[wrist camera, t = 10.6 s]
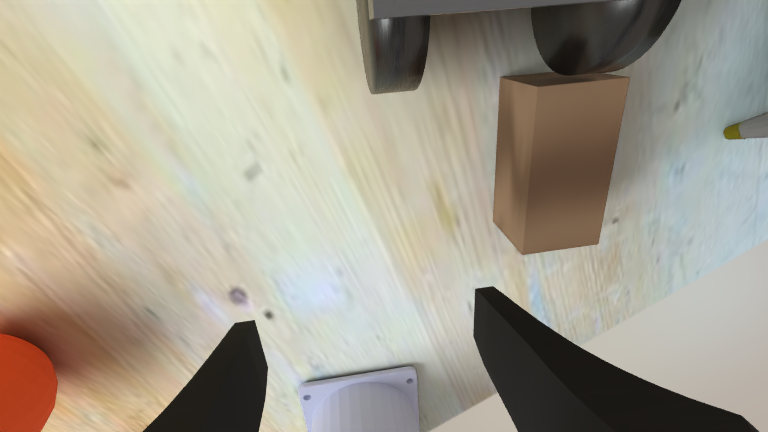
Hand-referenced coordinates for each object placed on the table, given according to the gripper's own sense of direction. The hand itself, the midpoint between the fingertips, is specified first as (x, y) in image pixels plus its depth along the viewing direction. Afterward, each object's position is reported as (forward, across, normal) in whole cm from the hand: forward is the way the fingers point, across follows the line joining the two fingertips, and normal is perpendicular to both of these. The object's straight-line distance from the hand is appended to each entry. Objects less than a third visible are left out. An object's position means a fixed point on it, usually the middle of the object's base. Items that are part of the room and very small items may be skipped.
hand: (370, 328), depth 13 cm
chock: (+10, -10, -2) cm, 14 cm away
